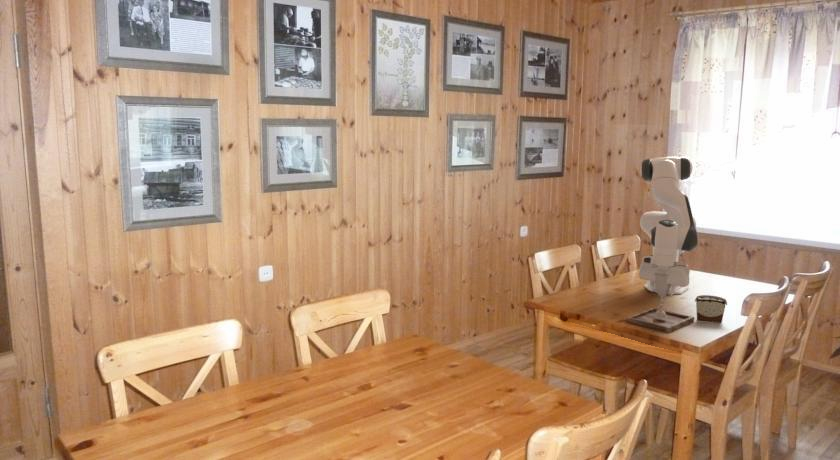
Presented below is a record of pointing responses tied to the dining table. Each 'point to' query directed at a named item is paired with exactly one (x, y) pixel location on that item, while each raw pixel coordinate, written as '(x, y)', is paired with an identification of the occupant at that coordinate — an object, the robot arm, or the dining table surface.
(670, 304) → the dining table surface
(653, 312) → the serving tray
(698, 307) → the food container
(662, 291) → the chalice
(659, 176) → the robot arm
